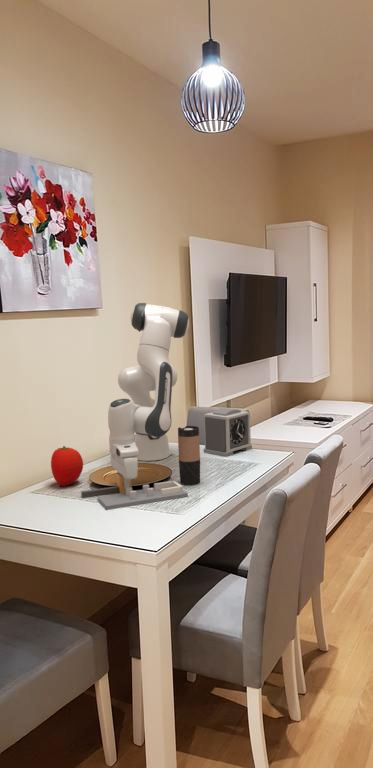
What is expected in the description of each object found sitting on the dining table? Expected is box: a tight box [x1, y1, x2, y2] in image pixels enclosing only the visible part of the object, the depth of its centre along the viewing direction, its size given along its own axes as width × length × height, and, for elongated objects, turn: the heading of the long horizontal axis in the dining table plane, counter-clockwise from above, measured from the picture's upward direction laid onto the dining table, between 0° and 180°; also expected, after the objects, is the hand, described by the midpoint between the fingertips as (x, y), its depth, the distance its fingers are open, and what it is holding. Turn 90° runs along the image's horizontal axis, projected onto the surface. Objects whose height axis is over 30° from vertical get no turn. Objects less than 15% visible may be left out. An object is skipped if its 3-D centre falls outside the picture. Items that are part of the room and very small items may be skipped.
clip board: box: [96, 480, 189, 511], centre depth 208 cm, size 11×28×4 cm, turn 113°
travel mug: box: [177, 425, 201, 486], centre depth 223 cm, size 8×8×20 cm
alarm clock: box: [203, 407, 253, 458], centre depth 268 cm, size 18×13×18 cm
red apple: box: [50, 445, 84, 487], centre depth 226 cm, size 13×11×14 cm
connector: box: [80, 472, 132, 499], centre depth 214 cm, size 17×4×6 cm, turn 113°
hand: (124, 485), depth 217 cm, fingers closed on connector, 4 cm apart
